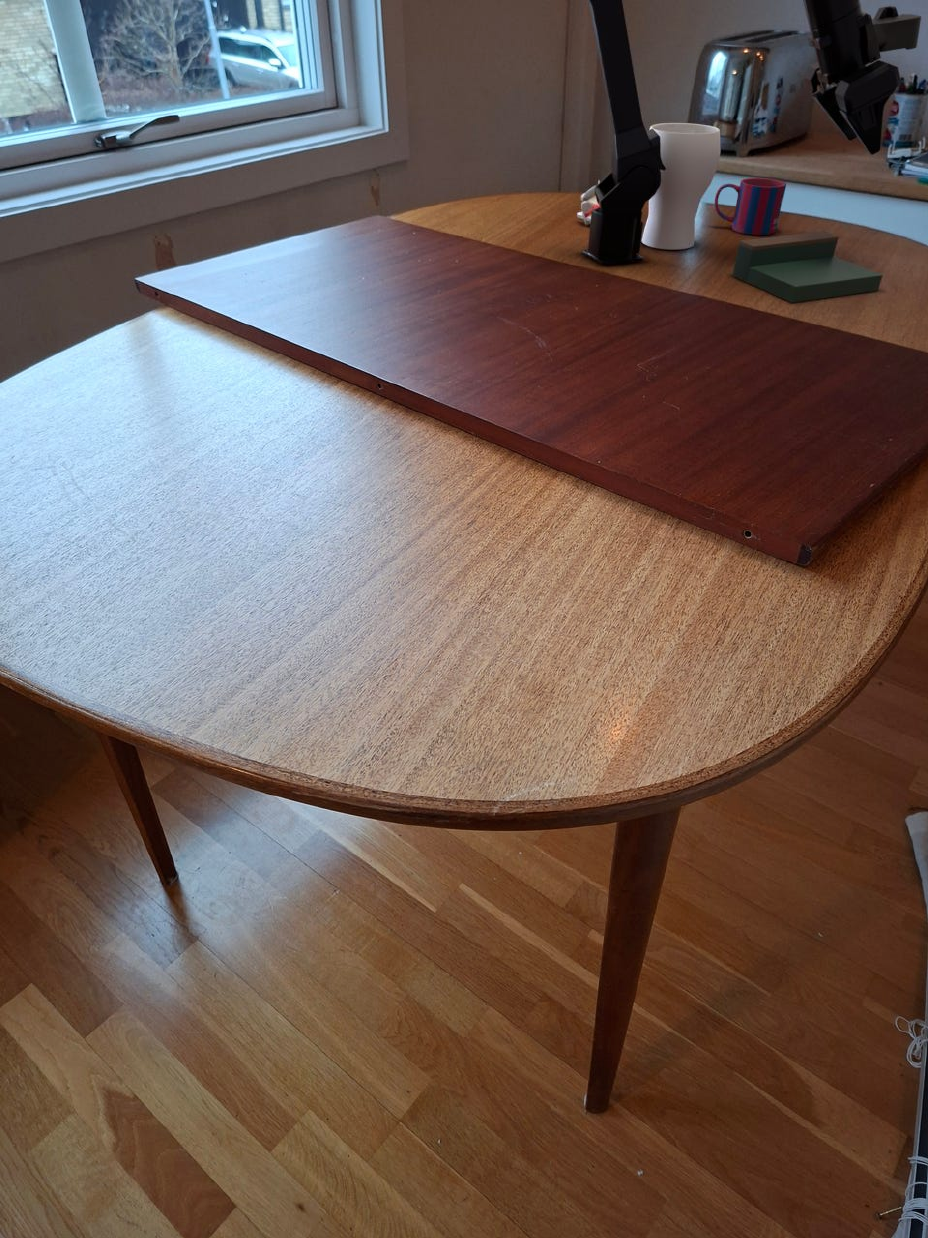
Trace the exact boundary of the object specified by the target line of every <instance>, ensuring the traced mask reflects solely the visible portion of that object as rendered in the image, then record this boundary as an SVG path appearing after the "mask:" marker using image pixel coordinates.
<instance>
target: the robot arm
mask: <svg viewBox="0 0 928 1238" xmlns="http://www.w3.org/2000/svg"><path fill="white" fill-rule="evenodd" d="M802 2H803V6H804V10H805V14H806V18H807V22H808V26H809V29H810V30H809V31H810V34H811V35H809V36H808V37H807V39H808V43H809V44H808V45H809V46H810V47H812V48H814V52H815V55H816V59H817V61H816V62H814V63H812V64H810V65H808V67H807V69H806V71H805V74H804V76H803V79H804V82H805V83H804V84H805V87H806V90H807V92H809V93H810V94H811V98H812V99H814V100H815V102H816V103H817V104H818V105H819V106H820V108H821V109H822V110H823V112H824V113H825V114H826V115H827V116H828V118H829V119H830V120H831V121H832V123H834V125H835V126H836V128H838V129H839V131H840V132H841V133H842V134H843V136H844V138H846V139H847V140H848V141H849V142H851V141H853V140H855V139H857V138H858V139H859V140H860V142H861V143H862V145H863V146H864V148H865V149H866V150H867V152H868V153H869V154H870V155H871V156H872V155H875V154H877V153H878V152H880V151H881V145H882V132H883V120H884V110H885V105H886V104H887V102H888V101H889V99H890V97H891V96H892V95H894V94H895V93H896V91H897V90H898V88H899V86H901V84H902V81H901V75H900V71H899V66H896V65H893V64H891V63H889V62H886V61H882V60H880V59H881V58H882V56H881V53H885V52H891V51H898V50H903V49H905V50H907V51H910V50H914V49H917V48H918V42H919V34H920V29H921V23H922V22H921V21H922V15H917V14H912V13H908V14H907V13H906V14H905V13H902V14H899V12H898V9H897V7H896V6H893V5H888V6H882V7H879V8H878V10H877V11H876V13H875V15H874V17H873V18H872V15H871V14H869V13H868V12H863V9H862V4H861V0H802ZM587 3H588V6H589V11H590V17H591V22H592V26H593V32H594V38H595V43H596V48H597V54H598V60H599V64H600V70H601V77H602V81H603V87H604V91H605V97H606V102H607V103H606V104H607V108H608V113H609V119H610V124H611V145H610V157H611V158H610V159H611V160H610V161H611V164H610V165H611V171H610V172H609V173H608V174H607V175H606V176H605V177H604V178H603V179H602V180H601V181H600V183H599V184H598V183H597V184H596V185H595V186H596V187H595V188H594V191H595V195H596V200H597V203H598V204H599V206H600V207H599V208H597V209H593V210H592V212H591V223H590V224H589V235H588V242H587V243H588V244H587V249H581V255H583V256H585V257H587V258H589V259H590V260H592V261H595V262H596V263H597V264H600V265H603V266H610V265H611V266H612V265H618V264H627V263H628V264H629V263H636V262H637V263H638V262H642V261H643V259H644V256H641V255H640V251H641V243H642V236H643V230H644V229H643V228H644V222H643V221H642V218H643V209H644V207H645V204H646V203H647V202H649V200H650V199H651V198H652V197H653V196H654V195H655V194H656V192H657V190H658V189H659V187H660V185H661V171H660V170H666V167H665V166H664V164H663V162H662V159H661V141H660V136H659V135H658V134H657V133H656V132H655V130H654V129H650V128H649V130H646V127H645V125H644V121H643V118H642V111H641V106H640V99H639V93H638V87H637V82H636V77H635V70H634V63H633V58H632V51H631V45H630V40H629V35H628V27H627V22H626V21H627V20H626V15H625V10H624V4H623V0H587Z"/></svg>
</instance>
